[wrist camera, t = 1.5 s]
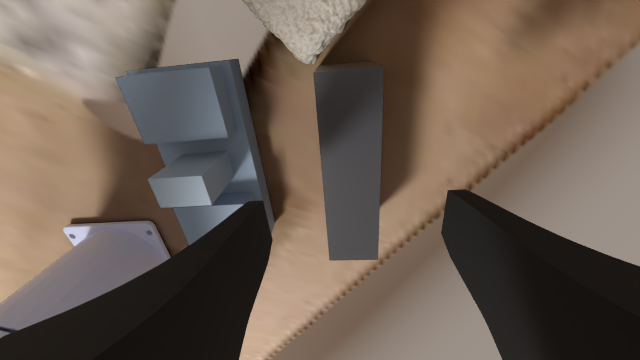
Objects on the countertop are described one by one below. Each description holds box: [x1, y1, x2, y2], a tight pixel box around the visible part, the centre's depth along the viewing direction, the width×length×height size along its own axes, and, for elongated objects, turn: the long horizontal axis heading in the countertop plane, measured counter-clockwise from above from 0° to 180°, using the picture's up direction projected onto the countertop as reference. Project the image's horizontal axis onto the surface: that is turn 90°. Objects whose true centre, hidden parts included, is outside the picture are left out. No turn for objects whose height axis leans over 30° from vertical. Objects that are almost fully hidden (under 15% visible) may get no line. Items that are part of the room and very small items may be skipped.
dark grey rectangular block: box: [313, 61, 384, 260], centre depth 15 cm, size 11×3×4 cm, turn 5°
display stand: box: [115, 59, 275, 245], centre depth 16 cm, size 12×6×5 cm, turn 6°
